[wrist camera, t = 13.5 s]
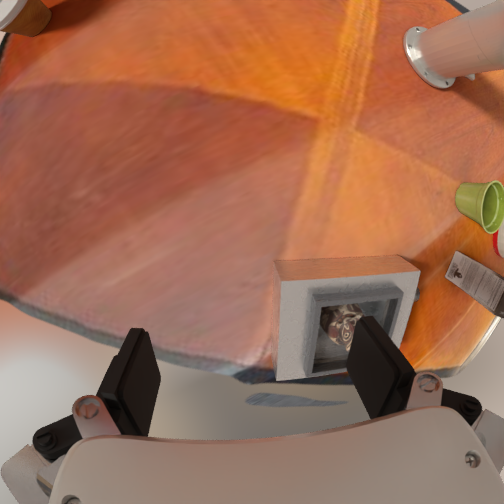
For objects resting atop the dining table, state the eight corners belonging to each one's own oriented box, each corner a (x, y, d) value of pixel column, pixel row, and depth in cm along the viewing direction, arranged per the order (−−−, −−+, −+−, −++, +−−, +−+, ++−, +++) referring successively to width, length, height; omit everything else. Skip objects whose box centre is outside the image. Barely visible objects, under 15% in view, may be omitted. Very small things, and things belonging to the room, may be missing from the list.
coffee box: (475, 260, 44) (524, 290, 29) (464, 286, 46) (509, 321, 31) (455, 249, 43) (510, 281, 28) (443, 277, 45) (494, 316, 30)
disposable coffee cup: (54, -4, 20) (24, -26, 8) (62, 19, 23) (27, -4, 12) (19, 28, 21) (-15, 14, 9) (25, 53, 24) (-14, 40, 12)
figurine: (354, 284, 42) (388, 325, 31) (356, 319, 44) (385, 362, 33) (313, 297, 42) (338, 343, 31) (318, 331, 44) (340, 379, 33)
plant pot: (477, 174, 38) (507, 181, 30) (475, 219, 41) (504, 231, 33) (449, 173, 38) (482, 180, 29) (448, 223, 41) (479, 236, 33)
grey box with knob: (410, 254, 42) (441, 274, 34) (390, 337, 48) (411, 364, 40) (273, 260, 41) (284, 288, 32) (270, 353, 47) (278, 389, 38)
